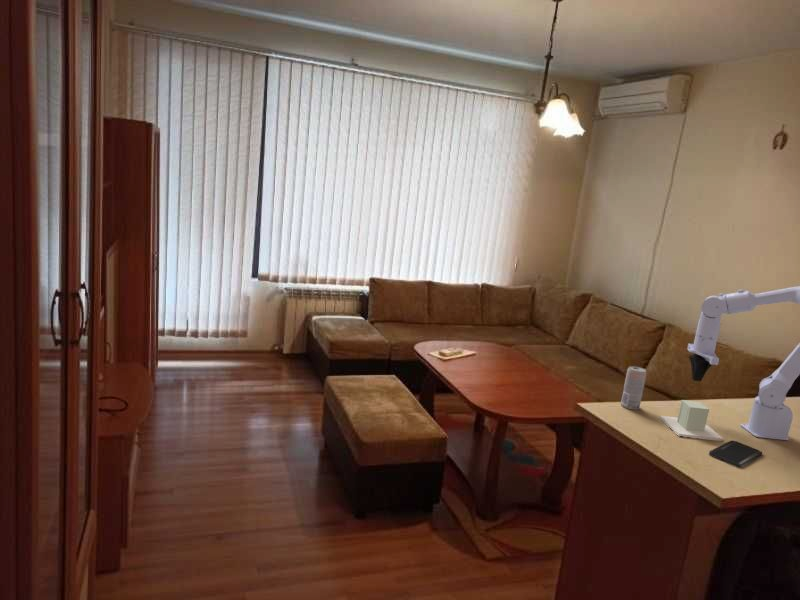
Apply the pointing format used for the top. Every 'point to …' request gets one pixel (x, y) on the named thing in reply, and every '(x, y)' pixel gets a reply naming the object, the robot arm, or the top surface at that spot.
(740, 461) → the phone
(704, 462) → the top surface
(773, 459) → the top surface
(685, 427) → the pale green slotted block
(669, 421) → the post board
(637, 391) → the energy drink
